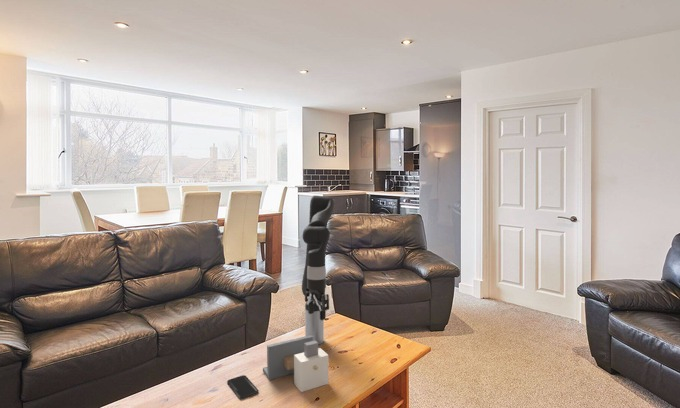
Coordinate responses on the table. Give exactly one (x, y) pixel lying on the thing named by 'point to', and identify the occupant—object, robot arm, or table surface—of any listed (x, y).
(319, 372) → the cabinet
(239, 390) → the phone
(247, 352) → the table surface
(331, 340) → the table surface
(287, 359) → the wall board
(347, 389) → the table surface
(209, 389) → the table surface
